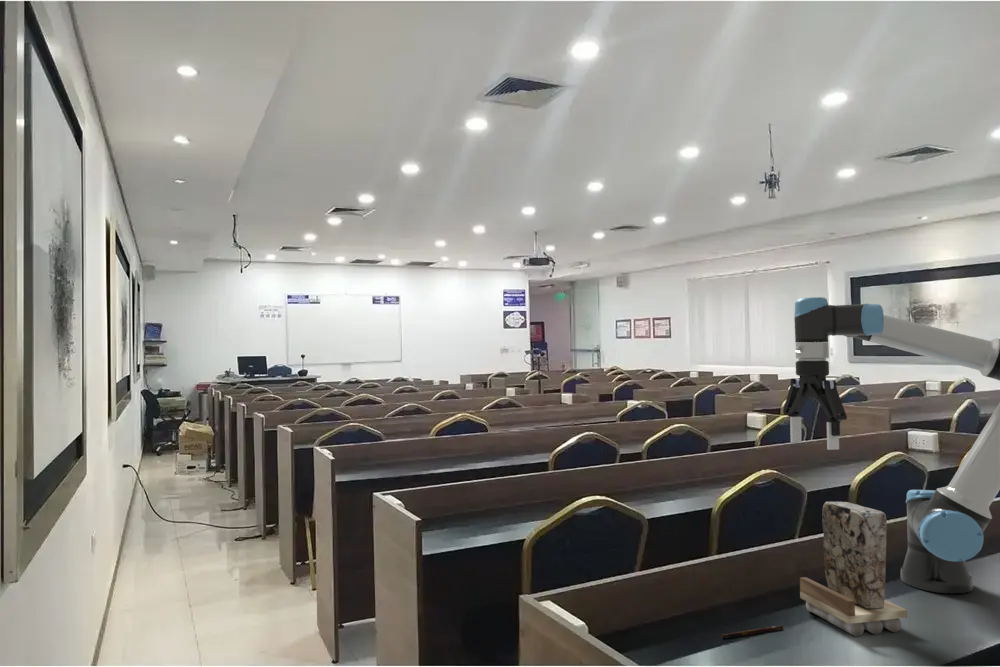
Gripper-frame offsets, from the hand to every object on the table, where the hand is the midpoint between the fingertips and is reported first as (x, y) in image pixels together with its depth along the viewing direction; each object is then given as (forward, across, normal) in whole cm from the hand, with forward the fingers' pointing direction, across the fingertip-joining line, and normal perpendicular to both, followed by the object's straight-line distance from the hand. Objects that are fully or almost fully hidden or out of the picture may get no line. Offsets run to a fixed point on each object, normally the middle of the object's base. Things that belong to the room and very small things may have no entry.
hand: (813, 445), depth 167 cm
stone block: (+30, +20, -6) cm, 37 cm away
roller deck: (+35, +20, -7) cm, 41 cm away
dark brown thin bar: (+35, +20, -31) cm, 51 cm away
